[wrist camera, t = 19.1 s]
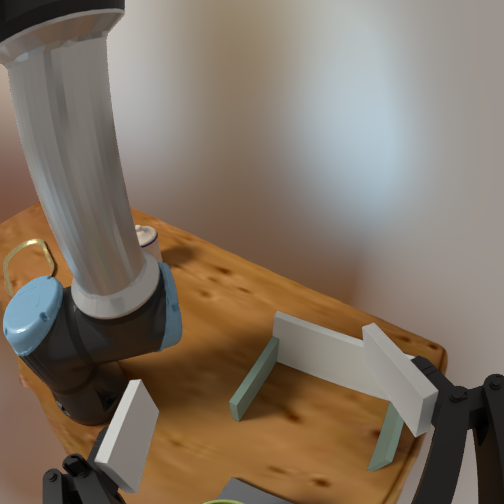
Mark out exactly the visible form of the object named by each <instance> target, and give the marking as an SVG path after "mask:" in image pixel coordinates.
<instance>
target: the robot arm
mask: <svg viewBox="0 0 504 504" xmlns="http://www.w3.org/2000/svg"><path fill="white" fill-rule="evenodd" d="M124 8H125V0H0V63H1V64H3V65H4V66H5V67H6V68H7V70H8V76H9V84H10V91H11V97H12V103H13V108H14V113H15V118H16V122H17V126H18V131H19V135H20V139H21V143H22V147H23V151H24V154H25V157H26V161H27V164H28V167H29V171H30V174H31V177H32V180H33V183H34V186H35V189H36V192H37V194H38V197H39V200H40V202H41V205H42V208H43V210H44V213H45V215H46V218H47V220H48V223H49V225H50V227H51V230H52V232H53V234H54V236H55V239H56V241H57V243H58V245H59V247H60V250H61V252H62V254H63V256H64V258H65V260H66V262H67V264H68V266H69V268H70V270H71V272H72V274H73V276H74V278H73V281H72V286H70V287H66V288H63V286H62V284H61V283H60V281H58V280H57V279H56V278H54V277H51V276H41V277H38V278H36V279H34V280H32V281H30V282H29V283H27V284H26V285H24V286H23V287H22V288H21V289H20V290H19V291H18V292H17V293H16V295H15V296H14V297H13V298H12V300H11V301H10V303H9V305H8V306H7V309H6V311H5V314H4V319H3V330H4V334H5V336H6V338H7V340H8V341H9V343H10V344H11V345H12V347H13V348H14V351H15V352H16V354H17V355H18V356H19V357H20V358H21V359H22V360H23V361H24V362H25V363H26V364H27V366H28V367H29V368H30V369H31V370H32V371H33V372H34V373H35V374H36V375H37V376H38V377H39V378H40V379H41V380H42V381H43V382H44V383H45V384H46V385H47V386H48V387H49V388H50V390H51V392H52V394H53V397H54V399H55V401H56V403H57V405H58V407H59V408H60V409H61V410H62V412H63V413H64V414H66V415H67V416H68V417H69V418H70V419H72V420H73V421H75V422H77V423H79V424H83V425H98V424H101V423H104V422H106V421H108V420H110V419H111V418H112V417H113V419H112V421H111V423H110V426H109V427H104V428H103V429H102V430H101V432H100V433H99V435H98V437H97V439H96V440H97V441H95V443H94V446H93V448H92V450H91V452H90V455H89V457H88V459H87V461H86V460H85V459H84V458H83V457H82V456H81V455H80V454H71V455H69V456H67V457H66V458H65V460H64V461H63V464H62V466H63V468H64V469H65V470H66V471H67V472H68V473H69V474H62V473H61V472H60V471H59V470H57V469H50V470H48V471H47V472H46V473H45V474H44V476H43V504H126V503H125V501H124V500H123V498H122V496H121V495H120V494H119V493H118V492H117V491H118V488H119V487H120V488H121V489H122V490H123V491H124V492H127V493H138V490H139V486H140V482H141V478H142V474H143V470H144V466H145V462H146V458H147V455H148V451H149V447H150V443H151V440H152V436H153V432H154V429H155V425H156V422H157V418H158V414H159V410H158V408H157V407H156V405H155V403H154V402H153V400H152V398H151V396H150V395H149V393H148V391H147V389H146V388H145V386H144V384H143V382H142V380H141V379H139V380H130V382H129V384H128V386H127V380H126V376H125V374H124V372H123V370H122V369H121V367H120V366H119V364H118V363H117V362H116V361H119V360H123V359H127V358H131V357H135V356H139V355H143V354H148V353H152V352H160V351H162V350H163V349H165V348H168V347H171V346H174V345H176V344H177V343H178V342H179V341H180V340H181V337H182V319H181V312H180V308H179V306H178V305H179V303H178V295H177V291H176V286H175V282H174V278H173V275H172V272H171V269H170V267H169V265H168V264H166V263H164V262H161V263H160V262H157V261H156V259H155V257H154V256H153V255H152V254H151V253H150V252H149V251H148V250H146V249H144V248H142V247H140V244H139V240H138V236H137V233H136V229H135V225H134V221H133V217H132V213H131V209H130V205H129V200H128V196H127V191H126V186H125V182H124V177H123V172H122V167H121V162H120V156H119V151H118V145H117V139H116V133H115V126H114V119H113V112H112V104H111V95H110V87H109V76H108V63H107V46H106V39H107V35H108V33H109V32H110V31H111V29H112V28H113V27H114V26H115V25H116V24H117V23H118V21H119V20H120V19H121V18H122V17H123V16H124V12H125V11H124ZM362 331H363V344H364V359H365V365H366V366H367V368H368V369H369V371H370V372H371V374H372V375H373V376H374V378H375V379H376V381H377V382H378V384H379V385H380V386H381V388H382V389H383V391H384V392H385V394H386V395H387V397H388V398H389V400H390V401H391V402H392V404H393V405H394V407H395V408H396V410H397V411H398V413H399V414H400V416H401V417H402V419H403V420H404V422H405V423H406V424H407V426H408V427H409V429H410V430H411V432H412V433H413V435H414V436H415V438H416V437H417V436H419V435H421V434H423V433H425V432H427V431H429V429H430V425H431V423H432V425H433V426H434V427H435V431H434V434H433V437H432V443H431V446H430V450H429V454H428V457H427V460H426V464H425V467H424V470H423V473H422V476H421V479H420V482H419V485H418V488H417V490H416V493H415V495H414V498H413V501H412V503H411V504H451V502H452V499H453V496H454V492H455V489H456V485H457V481H458V476H459V472H460V468H461V463H462V458H463V453H464V448H465V441H466V435H467V430H469V429H472V430H473V437H474V445H475V452H476V462H477V475H478V496H479V497H478V501H479V502H478V503H479V504H504V376H503V375H500V374H492V375H490V376H488V377H487V378H486V379H485V381H484V384H483V385H482V386H479V387H476V388H473V389H467V388H465V387H462V386H454V385H453V384H452V383H451V382H450V381H449V380H448V379H447V378H446V377H445V376H444V375H443V374H442V373H441V372H440V371H439V370H437V368H436V367H435V366H433V364H432V363H431V362H430V361H429V360H428V359H426V358H423V357H421V356H417V357H415V358H413V359H411V360H410V359H409V358H408V357H407V356H406V355H405V354H404V353H403V352H402V351H401V350H400V349H399V348H398V347H397V346H396V345H395V344H394V343H393V342H392V341H391V340H390V339H389V338H388V336H387V335H386V334H385V333H384V332H383V331H382V330H381V329H380V328H379V327H378V326H377V325H376V324H375V323H372V324H369V325H366V326H363V327H362Z"/></svg>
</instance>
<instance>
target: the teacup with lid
mask: <svg viewBox="0 0 504 504" xmlns="http://www.w3.org/2000/svg"><path fill="white" fill-rule="evenodd" d="M135 229H136V233H137V236H138V240H139V244H140V247H142V248H144V249H146V250H148V251H149V252H150V253H151V254H152V255H153V256H154V257H155V259H156V261H157V262H160V263H161V262H163V260H162V256H161V252H160V247H159V243H158V238H157V236H158V234H157V231H156V230H155V229H154V228H152V227H149V226H140V225H136V226H135Z"/></svg>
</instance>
